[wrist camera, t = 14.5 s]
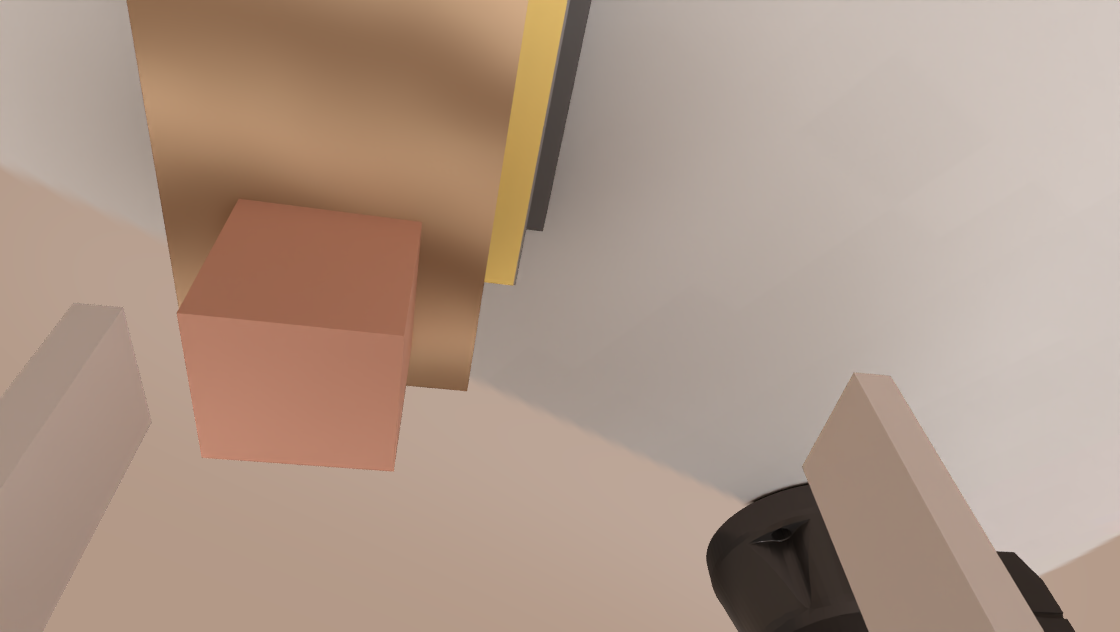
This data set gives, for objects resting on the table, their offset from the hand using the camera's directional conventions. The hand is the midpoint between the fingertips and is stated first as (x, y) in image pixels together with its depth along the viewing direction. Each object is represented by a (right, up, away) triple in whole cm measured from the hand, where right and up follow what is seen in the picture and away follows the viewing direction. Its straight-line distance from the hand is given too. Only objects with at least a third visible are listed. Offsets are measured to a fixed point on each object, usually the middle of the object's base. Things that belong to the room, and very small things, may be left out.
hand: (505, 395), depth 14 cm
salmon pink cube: (-7, +3, +11) cm, 13 cm away
